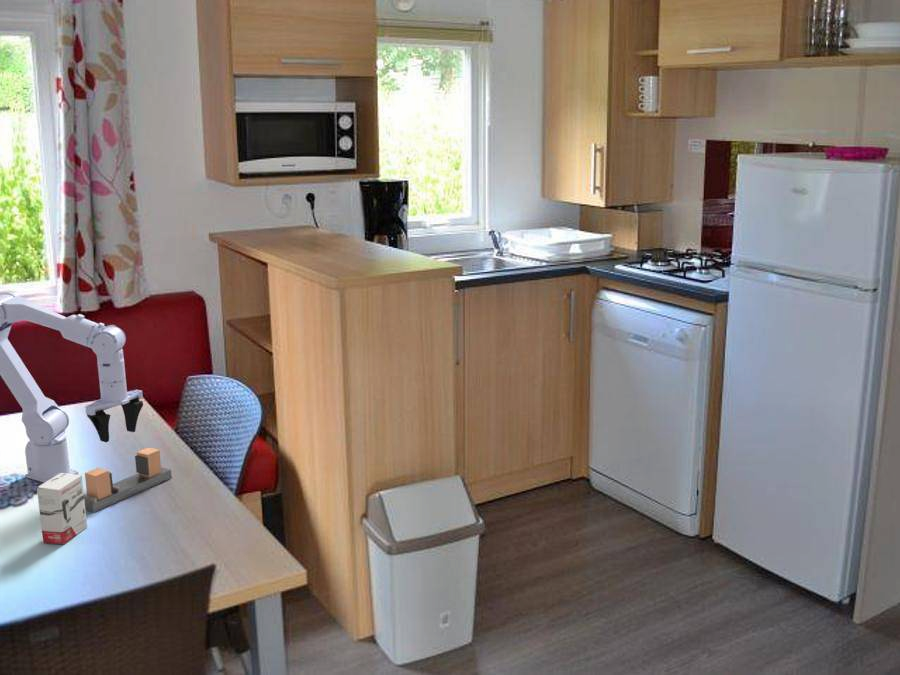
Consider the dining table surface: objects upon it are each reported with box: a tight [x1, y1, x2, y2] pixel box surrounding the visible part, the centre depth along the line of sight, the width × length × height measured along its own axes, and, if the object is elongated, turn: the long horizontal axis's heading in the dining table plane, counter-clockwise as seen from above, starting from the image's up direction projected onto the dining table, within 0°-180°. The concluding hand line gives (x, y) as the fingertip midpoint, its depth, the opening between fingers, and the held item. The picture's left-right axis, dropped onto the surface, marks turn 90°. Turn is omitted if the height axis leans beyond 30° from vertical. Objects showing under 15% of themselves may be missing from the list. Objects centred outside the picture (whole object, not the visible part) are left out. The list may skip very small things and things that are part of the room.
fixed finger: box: [134, 447, 162, 478], centre depth 216 cm, size 4×4×6 cm
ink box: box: [36, 473, 88, 545], centre depth 190 cm, size 9×5×12 cm, turn 168°
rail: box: [84, 467, 173, 513], centre depth 211 cm, size 5×22×3 cm, turn 149°
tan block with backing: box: [84, 467, 114, 500], centre depth 205 cm, size 4×4×6 cm
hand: (118, 436), depth 219 cm, fingers open, 7 cm apart
